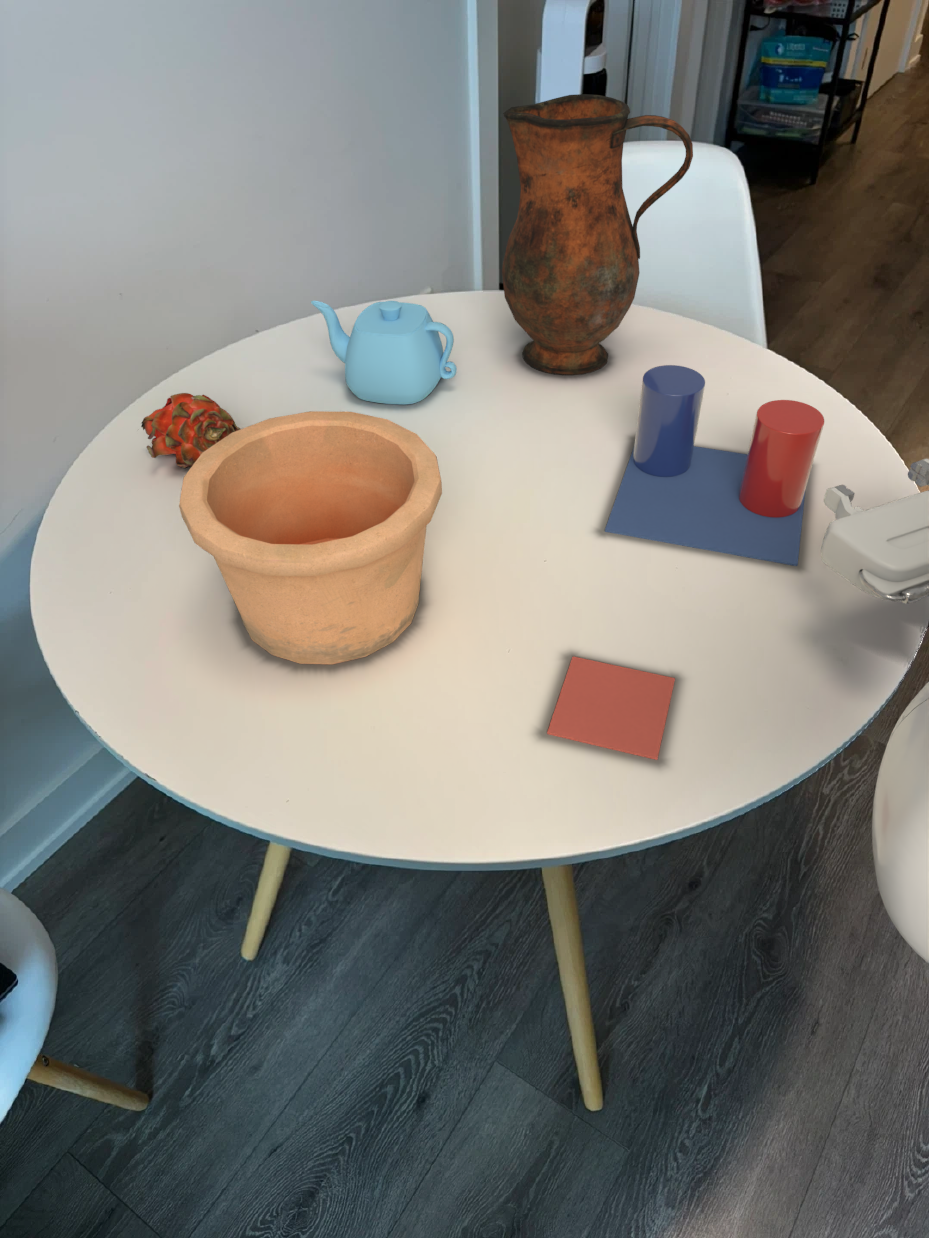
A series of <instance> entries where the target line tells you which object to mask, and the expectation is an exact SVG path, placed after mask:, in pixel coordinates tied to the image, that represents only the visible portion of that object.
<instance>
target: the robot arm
mask: <svg viewBox="0 0 929 1238" xmlns="http://www.w3.org/2000/svg"><path fill="white" fill-rule="evenodd" d="M909 467H910V469H909V470H908V471H907V477H908V479H909V480H910V481H911V482H914V483H915V485H917V486H918V487H920V488H922V487H927V486H929V458H922V459H920V460H917V461H914V462H911V464H910V466H909ZM855 494H856V493H855V492H854V491H852V489H850V488H847V486H846V485H845V484H838V485H835V486H833V487H829V488H827V489H826V491H825V494H824V497H823V503H824V505H825V506H826V507H827V508H828V509H829V510H830V511H832V512H833V513H834V516H835V519H833V520H832V521H831V522H830V523H828V526H827V528H826V530H825V533H824V537H823V539H822V543H821V547H820V559H821V560H822V562H823V564H825V565H826V566H827V567H828V568H830V569H831V570H832V571H833V572H835V573H836V574H837V575H839V576H840V577H841V578H843V579H844V580H846V581H847V582H849V583H850V584H852V585H853V586H855V587H856V588H858V589H860V590H861V591H863V593H866V594H868V595H869V596H872V597H874V598H877V599H879V600H881V601H885V602H886V601H887V602H888V601H891V602H901V603H902V604H905V605H909V604H914V603H916V602H919V601H921V600H922V599H924V598H927V597H929V489H927V490H924V491H921V492H918V493H915V494H912V495H909V496H906V497H902V498H900V499H897V500H894V501H890V502H888V503H883V504H881V505H878V506H875V507H872V508H868V509H865V510H864V509H863V508H862V507H860V506H854V507H853V505H852V501H853V500H854V498H855V497H854V496H855ZM872 801H873V802H872V816H871V818H872V820H871V844H872V857H873V864H874V872H875V878H876V883H877V889H878V892H879V895H880V899H881V901H882V903H883V907H884V909H885V911H886V913H887V916H888V917H889V919H890V922H891V924H893V926H894V927H895V929H896V930H897V931H898V933H899V935H900V936H901V937H902V938H903V939H904V941H905V942H906V943H907V944H908V945H909V946H910V947H911V949H912V950H913V951H914V952H915V953H916V954H917V955H918V956H919V957H921V958H922V959H923V961H925V962H926V963H927V964H928V965H929V681H927V682H926V684H925V685H924V686H923V687H922V688H921V689H920V691H918V693H917V694H916V695H915V696H914V697H913V698H912V700H910V702H909V703H908V704H907V706H906V707H905V709H904V710H903V712H902V713H901V714H900V716H899V718H898V720H897V721H896V723H895V725H894V727H893V729H892V731H891V733H890V736H889V737H888V742H887V744H886V747H885V750H884V752H883V755H882V760H881V762H880V766H879V769H878V773H877V779H876V785H875V789H874V795H873V800H872Z"/></svg>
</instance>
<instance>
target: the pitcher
mask: <svg viewBox="0 0 929 1238" xmlns="http://www.w3.org/2000/svg"><path fill="white" fill-rule="evenodd" d="M630 113H631V109H630V106H629V105H628V104H626V103H625V102H624V101H622V100H620V99H616V98H614V97H610V96H605V95H601V94H588V93H580V94H567V95H564V96H559V97H555V98H551V99H548V100H544V101H540V102H537V103H533V104H526V105H524V104H523V105H518V106H512V107H510V108H508V109H506V110H505V111H503V113H502V114H503V116H504V118H505V119H506V122H507V126H508V128H509V131H510V135H511V138H512V143H513V147H514V151H515V156H516V161H517V170H518V178H519V187H520V191H519V192H520V194H519V205H518V211H517V218H516V220H515V222H514V225H513V227H512V229H511V232H510V233H509V236H508V238H507V242H506V248H505V252H504V256H503V260H502V267H501V275H502V284H503V286H502V287H503V294H504V300H505V301H506V304H507V306H508V308H509V311H510V312H511V315H512V317H513V319H514V321H515V322H516V323H517V324H518V325H519V327H520V328H521V329H522V330H523V331H524V332H525V333H526V334H527V335H528V336H529V338H531V339H532V341H531V342H528V343H527V344H526V345H525V347H524V348H523V351H522V358H523V361H524V363H525V364H527V365H528V366H529V367H531V368H532V369H534V370H536V371H539V372H542V373H545V374H548V375H555V376H581V375H586V374H591V373H593V372H595V371H598V370H601V369H602V368H603V367H604V366H606V364H607V363H608V358H609V353H608V351H607V349H606V348H605V347H604V346H603V345H601V344H600V343H602V342H603V341H605V339H607V338H608V337H609V336H610V335H611V334H612V333H614V332H615V330H617V329H618V328H619V326H620V325H621V323H622V322H623V320H624V318H625V317H626V315H627V313H628V312H629V310H630V309H631V306H632V305H633V302H634V300H635V297H636V292H637V287H638V283H639V277H640V259H641V246H640V242H639V237H638V232H637V231H638V223H639V221H640V218H641V217H642V216H643V214H644V213H646V211H647V210H648V209H649V208H650V207H651V206H652V205H653V204H654V203H655V202H657V201H658V200H659V199H661V198H662V196H664V195H666V193H668V192H669V191H670V190H671V189H672V188H673V187H674V186H676V184H678V183H679V182H680V181H681V180H682V179H683V178H684V176H685V175H686V174H687V172H689V169H690V168H691V164H692V161H693V158H694V146H693V145H694V144H693V142H692V139H691V136H690V134H689V133H688V131H687V130H686V129H685V128H684V127H683V126H682V125H681V124H679V123H678V122H677V121H676V120H674V119H671V118H668V117H666V116H661V115H656V114H654V115H653V114H645V115H640V116H633V117H629V115H630ZM641 127H655V128H661V129H664V130H666V131H669V132H671V133H673V134H674V135H676V136H677V137H678V138H679V139H680V141H682V144H683V146H684V148H685V157H684V161H683V163H682V164H681V166H680V167H679V169H678V170H677V172H675V173H674V174H673V175H672V176H671V177H670V178H669V179H668V180H667V181H666V182H664V183H663V184H662V185H661V186H659V187H658V188H657V189H656V190H655V191H653V192H652V193H651V194H650V195H649V196H648V197H647V198H646V199H645V200H643V202H642V204H641V205H640V207H639V208H638V210H636V212H635V216H634V219H633V223H632V220H631V215H630V212H629V208H628V205H627V200H626V196H625V193H624V188H623V151H624V142H625V139H626V134H627V131H628V130H632V129H635V128H641Z"/></svg>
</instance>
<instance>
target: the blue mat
mask: <svg viewBox="0 0 929 1238" xmlns="http://www.w3.org/2000/svg"><path fill="white" fill-rule="evenodd" d="M633 453H634V447H633V448H632V452H631V454H630V457H629V460H628V463H627V465H626V468H625V471H624V474H623V476H622V479H621V483H620V485H619V487H618V491H617V494H616V497H615V500H614V503H613V505H612V508H611V511H610V514H609V517H608V520H607V523H606V525H605V528H604V532H605V533H610V534H615V535H620V536H626V537H632V538H638V539H643V540H648V541H649V540H650V541H655V542H660V543H666V544H671V545H676V546H682V547H687V548H692V549H693V548H694V549H698V550H705V551H711V552H715V553H720V554H721V553H722V554H727V555H733V556H738V557H744V558H749V559H755V560H761V561H765V562H771V563H777V564H783V565H787V566H792V567H793V566H794V567H798V565H799V557H800V548H801V547H800V546H801V537H802V526H803V519H804V518H803V516H804V507H805V499H806V498H805V497H806V491H805V492H804V496H803V499H802V503H801V506H800V508H799V510H798V511H797V512H795V513H794V514H792V515H789V516H786V517H777V518H775V517H766V516H761V515H758V514H755V513H753V512H751V511H749V510H748V509H746V508H745V507H744V506H743V505H742V504H741V502H740V500H739V490H740V485H741V481H742V476H743V472H744V468H745V463H746V459H747V454H748V453H741V452H740V453H739V452H735V451H728V450H722V449H715V448H714V449H713V448H709V447H703V446H696V445H694V450H693V455H692V461H691V466H690V468H689V469H688V470H687V471H686V472H684V473H683V474H680V475H677V476H673V477H658V476H653V475H650V474H647V473H645V472H643V471H641V470H640V469H638V468H637V467H636V465H635V464H634V462H633Z"/></svg>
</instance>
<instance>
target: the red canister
mask: <svg viewBox="0 0 929 1238" xmlns="http://www.w3.org/2000/svg"><path fill="white" fill-rule="evenodd" d="M753 423H754V424H753V428H752V433H751V437H750V442H749V445H748V450H747V453H746V454H747V459H746V463H745V468H744V472H743V476H742V481H741V485H740V490H739V500H740V502H741V504H742V505H743V506H744V507H745V508H746V509H748V510H749V511H751V512H753V513H755V514H758V515H761V516H766V517H775V518H777V517H786V516H789V515H792V514H794V513H795V512H797V511H798V510H799V508H800V506H801V503H802V499H803V496H804V492H805V493H806V489H807V485H808V482H809V478H810V476H811V475H810V474H811V472H812V467H813V465H814V461H815V457H816V453H817V450H818V447H819V443H820V439H821V435H822V432H823V429H824V425H825V417H824V415H823V414H822V412H821V411H820V410H819V409H817V408H816V407H814V406H812V405H810V404H808V403H805V402H802V401H799V400H793V399H777V400H770V401H768V402H765V403H763V404H761V405H760V407H758V408H757V410H756V414H755V419H754V422H753Z"/></svg>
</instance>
